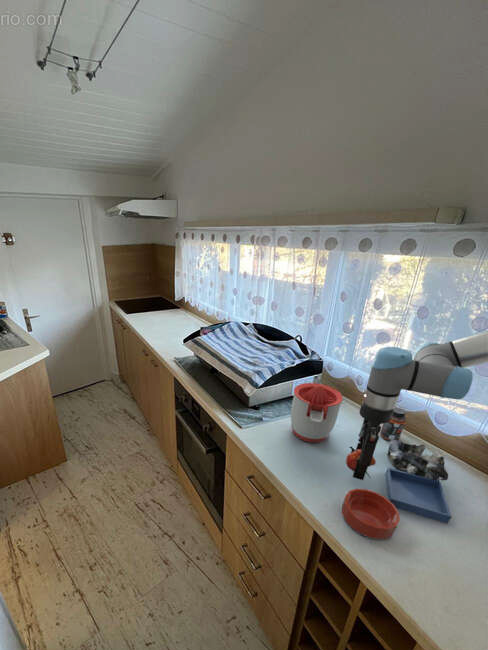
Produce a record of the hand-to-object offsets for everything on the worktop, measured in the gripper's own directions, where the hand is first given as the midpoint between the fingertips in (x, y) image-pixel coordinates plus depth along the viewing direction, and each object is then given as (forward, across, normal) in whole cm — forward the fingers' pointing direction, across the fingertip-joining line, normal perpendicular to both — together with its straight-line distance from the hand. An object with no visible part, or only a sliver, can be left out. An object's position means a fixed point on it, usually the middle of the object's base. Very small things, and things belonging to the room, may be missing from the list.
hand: (358, 469), depth 92 cm
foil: (+3, -11, +16) cm, 19 cm away
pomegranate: (0, 0, 0) cm, 1 cm away
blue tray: (+3, +2, +15) cm, 15 cm away
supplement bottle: (+3, -26, +11) cm, 28 cm away
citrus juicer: (+3, -15, -15) cm, 22 cm away
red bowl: (+3, +16, +3) cm, 16 cm away
